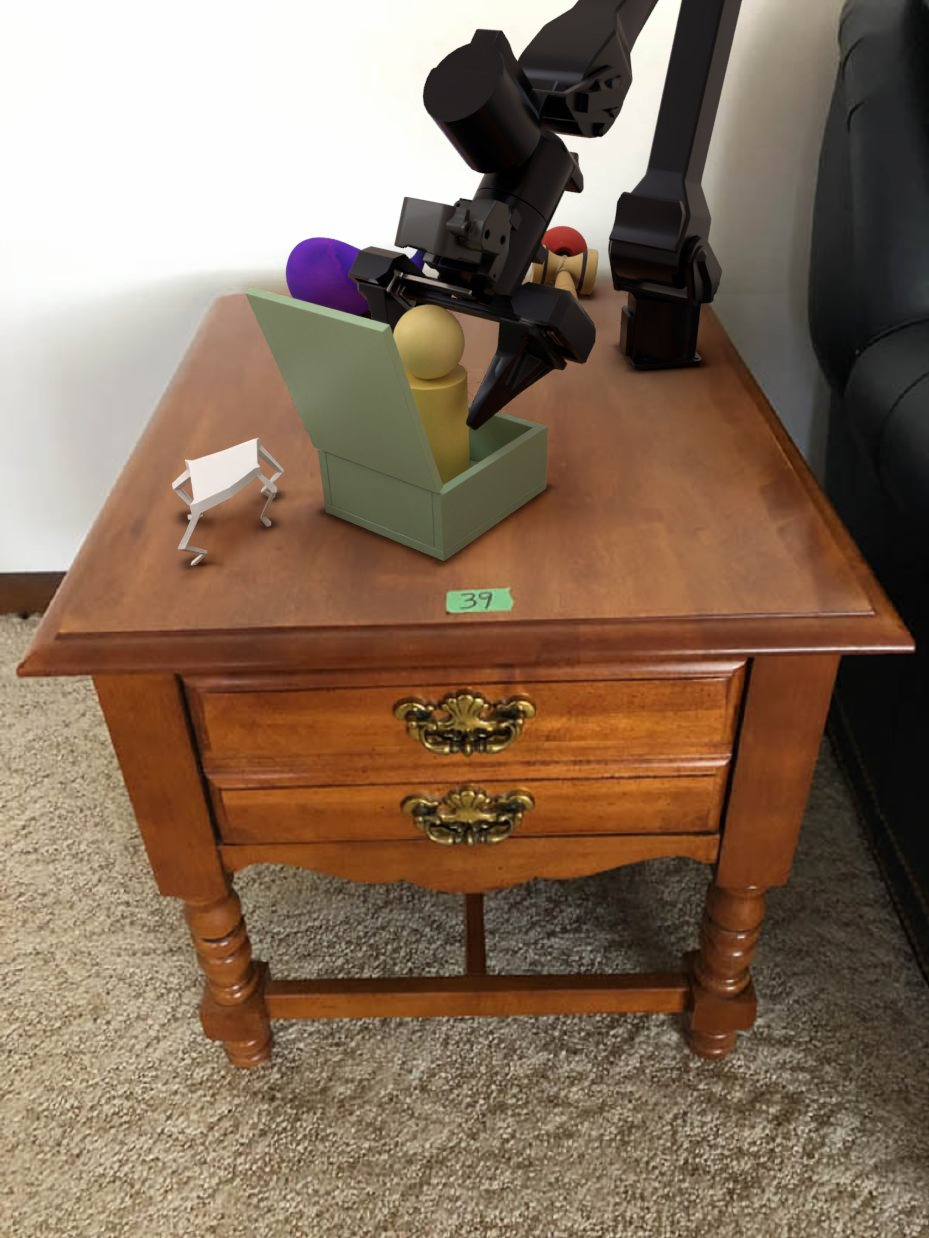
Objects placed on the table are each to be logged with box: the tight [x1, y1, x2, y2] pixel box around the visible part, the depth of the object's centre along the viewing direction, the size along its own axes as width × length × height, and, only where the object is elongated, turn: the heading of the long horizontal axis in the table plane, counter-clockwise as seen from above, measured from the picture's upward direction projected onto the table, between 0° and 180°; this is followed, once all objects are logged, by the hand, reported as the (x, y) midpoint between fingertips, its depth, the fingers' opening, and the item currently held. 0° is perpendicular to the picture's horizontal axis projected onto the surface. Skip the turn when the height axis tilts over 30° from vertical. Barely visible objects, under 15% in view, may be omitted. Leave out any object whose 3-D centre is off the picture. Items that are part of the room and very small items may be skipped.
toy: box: [285, 236, 426, 316], centre depth 109 cm, size 9×10×15 cm
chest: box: [317, 401, 549, 562], centre depth 77 cm, size 13×12×5 cm
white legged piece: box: [171, 437, 285, 566], centre depth 75 cm, size 12×8×5 cm
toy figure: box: [393, 305, 470, 485], centre depth 74 cm, size 5×5×14 cm
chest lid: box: [244, 286, 443, 493], centre depth 67 cm, size 13×12×1 cm
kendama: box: [530, 225, 599, 302], centre depth 112 cm, size 8×6×18 cm
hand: (419, 411), depth 73 cm, fingers open, 9 cm apart
